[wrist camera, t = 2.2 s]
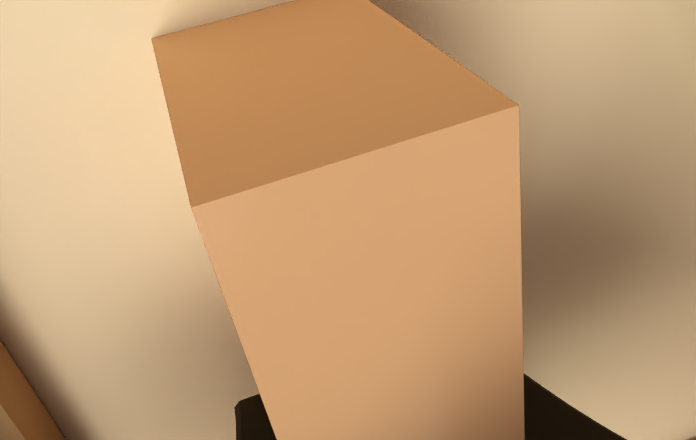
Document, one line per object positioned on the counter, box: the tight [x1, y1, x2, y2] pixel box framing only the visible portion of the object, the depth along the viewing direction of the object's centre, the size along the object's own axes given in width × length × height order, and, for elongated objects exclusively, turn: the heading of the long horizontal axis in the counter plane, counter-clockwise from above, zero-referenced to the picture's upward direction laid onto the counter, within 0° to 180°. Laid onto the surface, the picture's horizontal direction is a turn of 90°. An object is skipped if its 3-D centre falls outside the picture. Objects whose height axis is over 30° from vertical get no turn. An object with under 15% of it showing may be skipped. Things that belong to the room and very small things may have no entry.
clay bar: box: [151, 0, 525, 440], centre depth 12 cm, size 14×3×5 cm, turn 10°
